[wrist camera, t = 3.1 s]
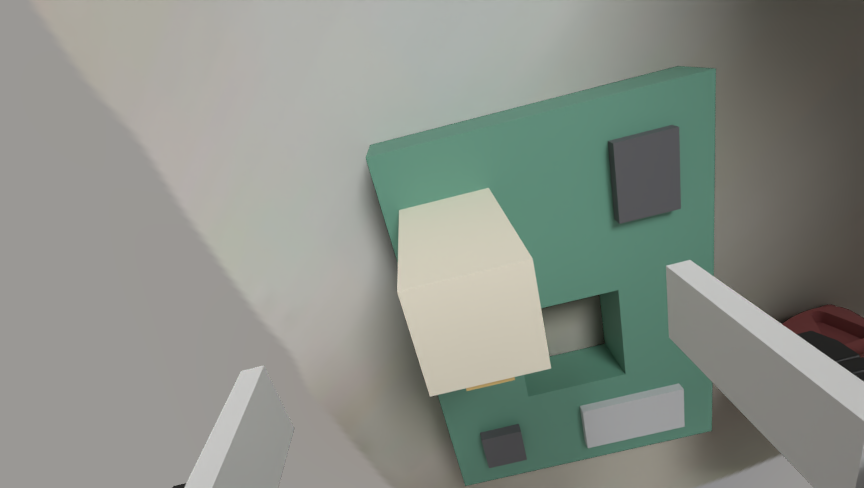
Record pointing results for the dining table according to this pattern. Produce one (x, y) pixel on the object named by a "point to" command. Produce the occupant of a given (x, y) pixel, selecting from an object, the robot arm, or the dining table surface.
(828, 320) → the mechanical component
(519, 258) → the plug
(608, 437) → the board
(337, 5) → the dining table surface
